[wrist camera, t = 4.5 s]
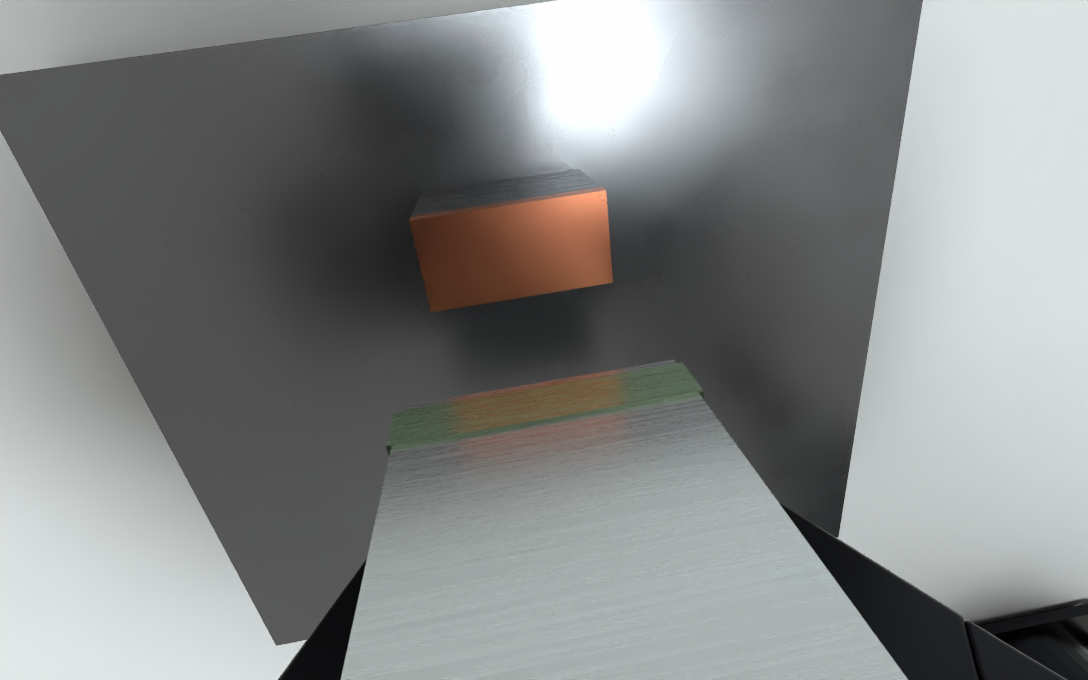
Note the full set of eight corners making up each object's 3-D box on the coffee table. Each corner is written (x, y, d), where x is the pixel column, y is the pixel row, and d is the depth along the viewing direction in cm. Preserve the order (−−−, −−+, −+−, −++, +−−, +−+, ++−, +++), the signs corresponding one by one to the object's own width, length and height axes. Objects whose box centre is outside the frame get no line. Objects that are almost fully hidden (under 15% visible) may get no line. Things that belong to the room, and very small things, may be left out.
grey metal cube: (677, 356, 8) (950, 717, 3) (681, 556, 10) (862, 964, 5) (396, 404, 8) (288, 859, 3) (453, 600, 9) (437, 1066, 5)
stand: (856, -29, 11) (1074, -91, 7) (800, 490, 17) (900, 613, 13) (59, 79, 10) (-204, 77, 6) (297, 584, 17) (241, 746, 12)
